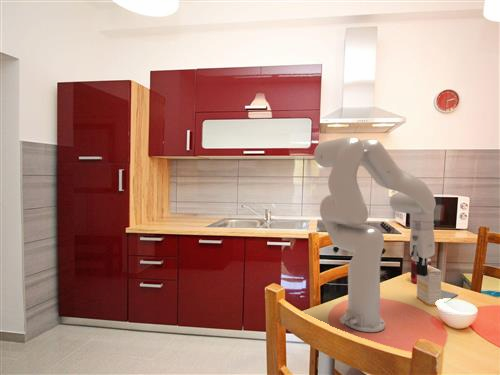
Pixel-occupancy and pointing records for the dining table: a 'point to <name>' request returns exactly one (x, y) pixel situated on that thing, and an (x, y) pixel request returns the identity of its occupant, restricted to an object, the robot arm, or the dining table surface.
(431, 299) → the supplement box
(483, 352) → the dining table surface
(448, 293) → the grey rubber mat
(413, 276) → the canned food
